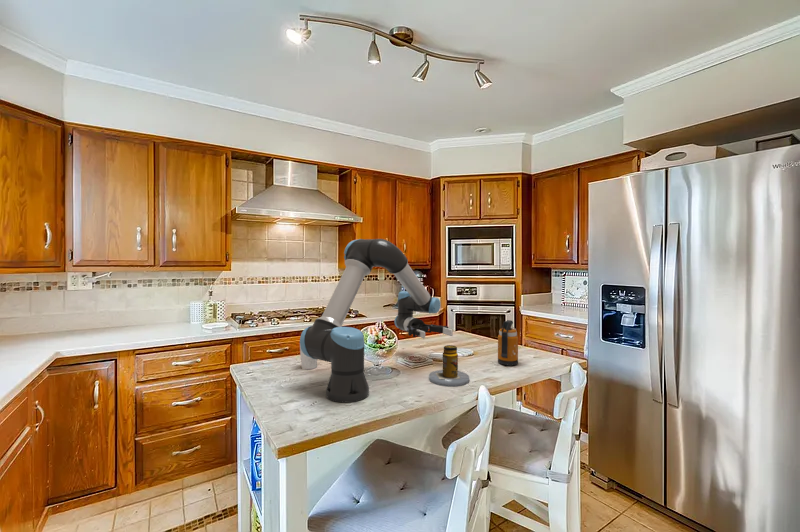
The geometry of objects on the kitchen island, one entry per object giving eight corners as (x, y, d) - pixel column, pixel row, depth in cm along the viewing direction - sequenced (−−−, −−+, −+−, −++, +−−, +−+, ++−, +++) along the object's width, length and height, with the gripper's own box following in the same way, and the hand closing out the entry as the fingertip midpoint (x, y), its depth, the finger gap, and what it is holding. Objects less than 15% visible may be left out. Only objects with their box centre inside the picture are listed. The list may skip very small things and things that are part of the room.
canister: (520, 362, 175) (520, 319, 174) (513, 368, 166) (514, 323, 165) (501, 359, 180) (501, 318, 179) (493, 365, 170) (494, 321, 170)
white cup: (314, 370, 163) (314, 347, 162) (297, 369, 164) (296, 346, 164) (320, 365, 170) (320, 343, 170) (304, 364, 172) (304, 342, 171)
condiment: (460, 378, 148) (461, 348, 147) (439, 379, 146) (439, 349, 146) (455, 372, 155) (455, 344, 154) (435, 373, 154) (435, 344, 153)
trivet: (424, 383, 146) (424, 379, 146) (434, 371, 161) (434, 368, 161) (465, 388, 141) (465, 384, 141) (471, 375, 156) (471, 372, 156)
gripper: (436, 332, 184) (462, 340, 165) (390, 335, 173) (412, 345, 154) (437, 316, 184) (462, 323, 165) (390, 319, 173) (412, 327, 154)
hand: (438, 334), depth 159 cm, fingers open, 13 cm apart
